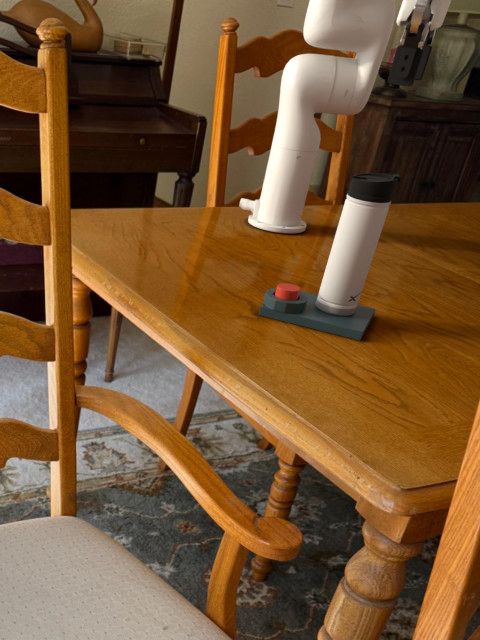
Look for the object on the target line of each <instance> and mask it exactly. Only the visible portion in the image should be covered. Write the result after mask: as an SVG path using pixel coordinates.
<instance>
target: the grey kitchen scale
mask: <svg viewBox="0 0 480 640" xmlns="http://www.w3.org/2000/svg"><path fill="white" fill-rule="evenodd" d="M276 288H277V287H275V288H269V289H267V290H266V291H265V293H264V296H263V299H262V303H263V304H262V305H261V306H260V308H259V312H258V316H260V317H264V318H269V319H273V320H277V321H281V322H283V323H284V322H285V323H289V324H293V325H296V326H301V327H305V328H308V329H313V330H315V331H316V330H317V331H319V332H320V331H321V332H325V333H328V334H332V335H336V336H339V337H340V336H341V337H343V338H348V339H352V340H356V341H361V340H362V338H363V336H364V335H365V333H366V331H367V329H368V327H369V326H370V324H371V322H372V320H373V318H374V315H375V313H376V308H374V307H369V306H366V305H362V304H358V305H357V308H356V311H355V313H354V314H352V315H349V316H337V315H332V314H328V313H325V312H323V311H321V310H319V309H318V308H317V307H316V301H317V297H318V295H319V294H315V293H311V292H306V291H302V290H300V293H299V296H298V300H295V301H288V300H283V299H279V298H277V297H275V292H276Z"/></svg>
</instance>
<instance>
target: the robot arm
mask: <svg viewBox="0 0 480 640" xmlns="http://www.w3.org/2000/svg"><path fill="white" fill-rule="evenodd" d="M451 2H452V0H402V2H401V6H400V8H399V12H398V15H397V18H396V9H397V7H396V0H309V1H308V6H307V10H306V14H305V18H304V23H303V30H302V31H303V32H302V35H303V39H304V41H305V42H306V43H307V44H308V45H309V46H312V47H314V48H318V49H323V50H324V49H325V50H331V51H332V50H333V51H342V52H351V53H352V52H353V53H355V57H354V58H353V57H344V56H335V55H329V54H320V53H302V54H298V55H296V56H294V57H292V58H290V59H289V61H288V62H287V63H286V64H285V66H284V68H283V71H282V74H281V80H280V91H279V102H278V109H277V117H276V123H275V127H274V133H273V137H272V142H271V146H270V150H269V155H268V161H267V165H266V170H265V175H264V177H263V182H262V183H263V184H262V188H261V192H260V197H259V198H258V199H255V200H251V199H249V198H244V197H241V198H240V201H239V203H238V204H239V205H238V207H239V208H241V210H244V211H249V212H250V211H251V214H249V215H248V220H247V223H249V225H251V226H253V227H255V228H258V229H260V230H264V231H267V232H272V233H278V234H300V233H303V232H305V231H306V230H307V222H306V221H304V220H302V216H303V212H304V209H305V204H306V200H307V197H308V193H309V188H310V184H311V181H312V177H313V174H314V169H315V165H316V162H317V158H318V153H319V149H320V146H321V141H322V139H321V137H322V136H321V131H320V128H319V125H318V124H317V121H316V119H315V114H330V115H339V116H354V115H357V114H359V113H360V112H362V111H363V110H364V108H365V107H366V105H367V103H368V101H369V99H370V96H371V95H372V94H371V93H372V91H373V88H374V85H375V82H376V79H377V76H378V74H379V70H380V69H381V68H380V67H381V65H382V62H383V59H384V56H385V54H386V50H387V47H388V45H389V41H390V38H391V36H392V32H393V28H394V24H395V20H396V25H397V26H398V27H400V28H403V27H404V30H403V33H402V35H401V37H400V40H399V44H398V46H396V50H395V54H394V58H393V60H392V64H391V67H390V71H389V74H388V77H387V83H388V84H389V85H395V86H402V87H409V88H410V87H412V86H414V83H415V81H417V82H418V81H421V80H422V79H423V78H424V74H425V71H426V69H427V65H428V62H429V59H430V56H431V53H432V49H433V42H434V41H435V35H436V31H437V29H439V28H441V27H442V26H443V23H444V21H445V18H446V15H447V14H448V11H449V9H450V5H451Z"/></svg>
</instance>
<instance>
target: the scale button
mask: <svg viewBox="0 0 480 640" xmlns="http://www.w3.org/2000/svg"><path fill="white" fill-rule="evenodd" d="M275 288H276V292H275V297H277V298H279V299H283V300H288V301H295V300H298V296H299V293H300V291H301V288H300V287H299V286H298V285H296V284H293V283H287V282H281V283H278V284H277V286H276V287H275Z"/></svg>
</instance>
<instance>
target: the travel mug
mask: <svg viewBox="0 0 480 640" xmlns="http://www.w3.org/2000/svg"><path fill="white" fill-rule="evenodd" d="M401 180H402V177H401V175H400V174H397V173H393V174H390V173H381V172H380V173H379V172H365V173H358V174H355V175H353V177H352V178H351V181H350V185H349V189H348V192H347V194H346V199H344V200H345V201H344V204H343V208H342V211H341V215H340V218H339V221H338V224H337V227H336V231H335V235H334V239H333V241H332V242H333V243H332V245H331V249H330V252H329V256H328V259H327V262H326V266H325V270H324V273H323V277H322V280H321V284H320V287H319V291H318V294H317V295H318V297H317V301H316V307H317V308H318V309H319V310H321V311H323V312H325V313H328V314H332V315H337V316H349V315H352V314H354V313H355V311H356V308H357V305H359V304H358V303H359V301H360V298H361V295H362V292H363V289H364V287H365V283H366V280H367V276H368V274H369V272H370V268H371V264H372V262H373V260H374V259H373V258H374V255H375V253H376V250H377V246H378V243H379V241H380V237H381V235H382V230H383V228H384V225H385V221H386V219H387V216H388V214H389V213H388V212H389V211H390V210H389V209H390V205H391V204H392V199H393V195H394V194H395V193H394V192H395V189H396V185H397V182H398V183H401Z"/></svg>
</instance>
